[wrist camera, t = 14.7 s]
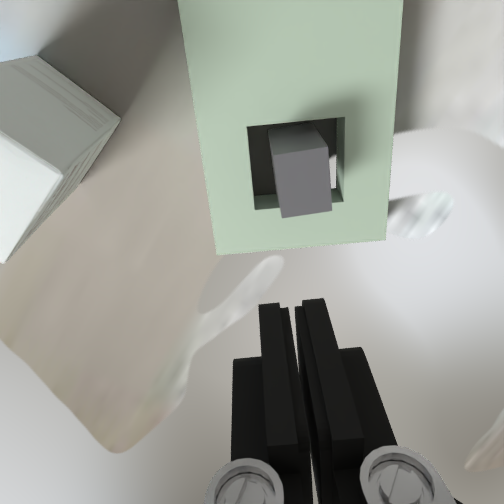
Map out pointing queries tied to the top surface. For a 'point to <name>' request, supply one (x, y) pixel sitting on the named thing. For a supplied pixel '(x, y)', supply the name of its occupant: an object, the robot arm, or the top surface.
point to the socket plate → (294, 109)
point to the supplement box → (43, 144)
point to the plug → (300, 170)
